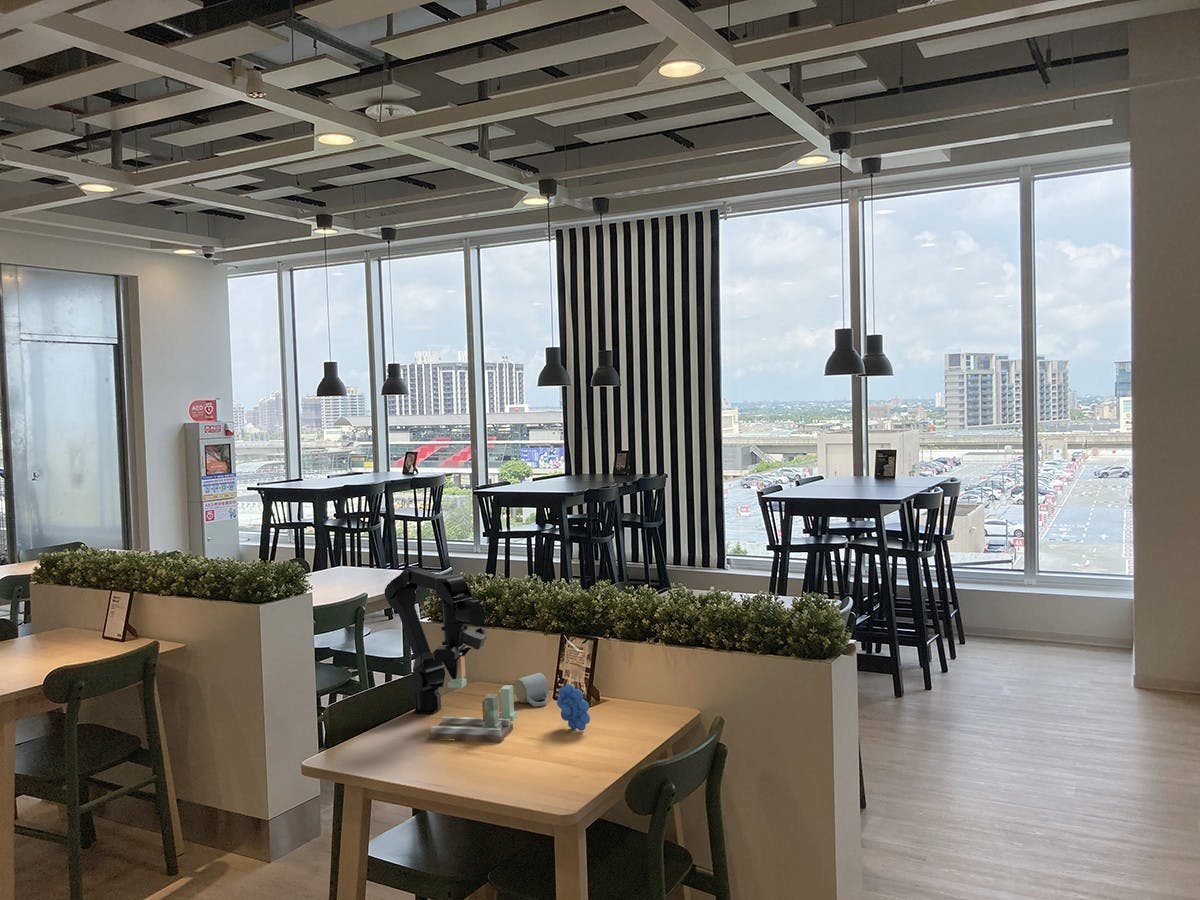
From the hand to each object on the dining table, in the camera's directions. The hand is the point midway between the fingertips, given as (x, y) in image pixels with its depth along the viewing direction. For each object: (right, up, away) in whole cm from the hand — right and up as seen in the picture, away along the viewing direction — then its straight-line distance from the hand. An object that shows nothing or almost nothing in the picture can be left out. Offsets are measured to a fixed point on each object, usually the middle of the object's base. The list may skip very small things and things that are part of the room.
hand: (456, 677), depth 269 cm
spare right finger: (+14, -12, 0) cm, 18 cm away
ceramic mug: (+21, -11, +15) cm, 28 cm away
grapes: (+32, -12, -12) cm, 36 cm away
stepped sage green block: (0, -3, 0) cm, 2 cm away
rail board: (+6, -12, -12) cm, 18 cm away
